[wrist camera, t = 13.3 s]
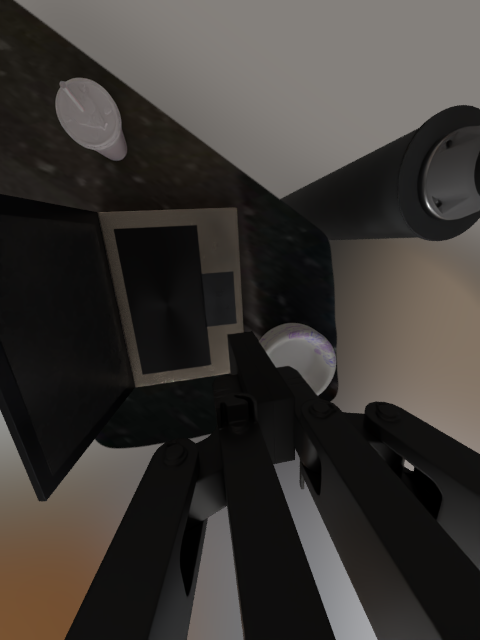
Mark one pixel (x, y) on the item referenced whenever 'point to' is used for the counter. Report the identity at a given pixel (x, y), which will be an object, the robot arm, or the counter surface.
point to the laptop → (176, 289)
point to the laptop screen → (57, 336)
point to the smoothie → (91, 117)
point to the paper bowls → (301, 353)
